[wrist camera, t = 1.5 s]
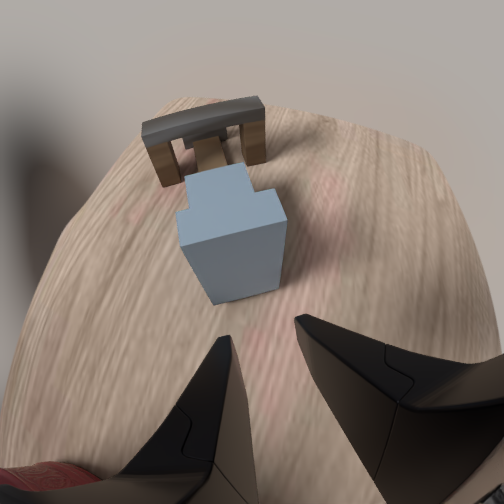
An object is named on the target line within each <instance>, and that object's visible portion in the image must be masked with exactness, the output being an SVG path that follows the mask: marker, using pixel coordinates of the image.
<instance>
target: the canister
mask: <svg viewBox="0 0 504 504" xmlns="http://www.w3.org/2000/svg"><path fill="white" fill-rule="evenodd" d="M99 481H102V480H101V479H99V478H98V477H96V476H95V475H93V474H92V473H90V472H88V471H86V470H84V469H82V468H80V467H78V466H75V465H72V464H68V463H61V462H53V461H48V462H40V463H36V464H34V465H32V466H25V467H15V468H0V485H1V484H9V485H11V486H14V487H16V488H18V489H21V490H26V491H49V490H57V489H64V488H70V487H75V486H80V485H85V484H90V483H94V482H99Z"/></svg>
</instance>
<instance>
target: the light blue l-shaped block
mask: <svg viewBox="0 0 504 504" xmlns="http://www.w3.org/2000/svg"><path fill="white" fill-rule="evenodd" d="M185 183H186V190H187V197H188V203H189V209H186V210H182V211H178V212H176V220H177V228H178V235H179V242H180V247H181V249H182V251H183V253H184V255H185V257H186V258H187V260H188V262H189V264H190V265H191V267H192V269H193V271H194V273H195V274H196V276H197V278H198V280H199V281H200V283H201V285H202V287H203V288H204V290H205V292H206V293H207V295H208V297H209V299H210V300H211V302H212V304H213V305H218V304H222V303H226V302H230V301H234V300H238V299H241V298H245V297H249V296H253V295H257V294H261V293H264V292H268V291H272V290H275V289H279V284H280V276H281V269H282V261H283V253H284V245H285V237H286V229H287V221H288V220H287V217H286V215H285V213H284V210H283V208H282V205H281V203H280V200H279V198H278V195H277V193H276V191H275V188H273V189H268V190H264V191H259V192H254V189H253V187H252V184H251V181H250V178H249V176H248V173H247V170H246V167H245V165H244V162H242V163H237V164H232V165H228V166H224V167H219V168H215V169H211V170H207V171H203V172H199V173H195V174H191V175H187V176H185Z"/></svg>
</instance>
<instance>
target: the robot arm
mask: <svg viewBox="0 0 504 504" xmlns="http://www.w3.org/2000/svg"><path fill="white" fill-rule="evenodd" d="M294 323H295V329H296V335H297V340H298V343H299V346H300V348H301V351H302V353H303V356H304V358H305V361H306V363H307V366H308V368H309V371H310V373H311V375H312V378H313V380H314V382H315V383H316V385H317V387H318V389H319V390H320V392H321V394H322V396H323V397H324V399H325V401H326V402H327V404H328V406H329V408H330V409H331V411H332V413H333V414H334V416H335V418H336V419H337V421H338V423H339V425H340V426H341V428H342V430H343V431H344V433H345V435H346V436H347V438H348V440H349V441H350V443H351V445H352V446H353V448H354V450H355V452H356V453H357V455H358V457H359V458H360V460H361V462H362V463H363V465H364V467H365V468H366V470H367V472H368V473H369V475H370V477H371V478H372V480H373V481H374V483H375V485H376V487H377V488H378V490H379V492H380V493H381V495H382V497H383V498H384V500H385V501H386V503H387V504H504V354H502V355H499V356H497V357H495V358H492V359H490V360H488V361H485V362H481V363H475V364H466V363H460V362H455V361H450V360H445V359H440V358H435V357H431V356H426V355H422V354H418V353H414V352H411V351H407V350H404V349H401V348H398V347H395V346H392V345H389V344H386V345H385V343H383V342H381V341H378V340H375V339H372V338H369V337H367V336H364V335H361V334H359V333H356V332H353V331H350V330H348V329H345V328H342V327H340V326H337V325H335V324H332V323H329V322H327V321H324V320H321V319H319V318H316V317H314V316H311V315H309V314H303V315H299V316H296V317H295V318H294ZM0 504H259V502H258V493H257V484H256V476H255V466H254V457H253V448H252V438H251V428H250V418H249V408H248V399H247V394H246V389H245V385H244V381H243V377H242V372H241V368H240V364H239V360H238V356H237V353H236V350H235V347H234V343H233V340H232V337H231V336H230V335H226V336H221V337H218V338H217V340H216V341H215V343H214V344H213V346H212V347H211V349H210V351H209V352H208V354H207V355H206V357H205V358H204V360H203V362H202V363H201V365H200V366H199V368H198V369H197V371H196V373H195V374H194V376H193V377H192V379H191V380H190V382H189V384H188V385H187V387H186V388H185V390H184V391H183V393H182V394H181V396H180V398H179V399H178V401H177V402H176V405H174V407H173V408H172V410H171V411H170V413H169V414H168V416H167V417H166V418H165V420H164V421H163V423H162V424H161V426H160V427H159V428H158V429H157V431H156V432H155V433H154V434H153V436H152V437H151V438H150V439H149V440H148V442H147V443H146V444H145V445H144V446H143V447H142V448H141V450H140V451H139V452H138V453H137V454H136V455H135V456H134V458H133V459H132V460H131V461H130V462H129V463H128V464H127V465H126V466H125V467H124V468H123V469H122V470H121V471H120V472H119V473H118V474H116V475H115V476H113V477H111V478H109V479H106V480H103V481H99V482H94V483H90V484H85V485H80V486H75V487H70V488H64V489H57V490H49V491H26V490H21V489H18V488H16V487H14V486H11V485H9V484H1V485H0Z"/></svg>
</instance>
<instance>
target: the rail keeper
mask: <svg viewBox="0 0 504 504" xmlns="http://www.w3.org/2000/svg"><path fill="white" fill-rule="evenodd" d="M234 125H239V128H240V139H241V149H242V154H243V157H244V159H245V162H246V165H247V166H252V165H256V164H261V163H266V148H265V107H264V105H263V104H262V102H261V100H260V99H259V97H258V96H252V97H245V98H239V99H234V100H228V101H223V102H218V103H213V104H208V105H204V106H200V107H195V108H191V109H187V110H183V111H179V112H176V113H172V114H169V115H165V116H162V117H158V118H155V119H152V120H148V121H145V122H143V123H142V134H141V137H142V140H143V142H144V144H145V147H146V149H147V152H148V154H149V157H150V159H151V161H152V164H153V166H154V168H155V171H156V173H157V175H158V178H159V180H160V182H161V184H162V187H167V186H170V185H174V184H177V183H181V177H180V169H179V165H178V162H177V159H176V156H175V153H174V150H173V147H172V144H171V141H172V140H175V139H179V138H183V142H184V145H185V149H189V148H193V147H194V151H195V157H196V162H197V167H198V173H199V172H203V171H207V170H211V169H215V168H219V167H224V166H228V165H227V162H226V159H225V156H224V152H223V149H222V146H221V142H220V141H222V140H227V139H228V137H227V130H226V127H229V126H234Z"/></svg>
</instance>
